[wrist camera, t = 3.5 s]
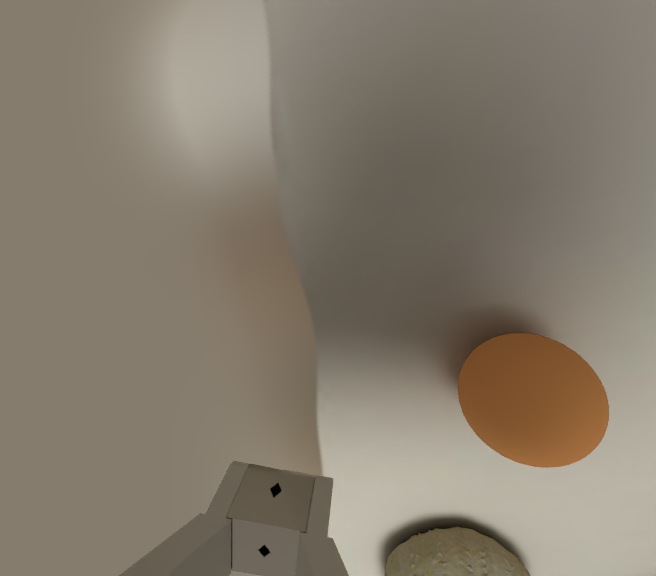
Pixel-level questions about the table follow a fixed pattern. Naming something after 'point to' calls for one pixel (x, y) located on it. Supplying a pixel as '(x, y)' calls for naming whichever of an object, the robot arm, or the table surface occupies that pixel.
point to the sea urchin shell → (452, 555)
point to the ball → (533, 400)
